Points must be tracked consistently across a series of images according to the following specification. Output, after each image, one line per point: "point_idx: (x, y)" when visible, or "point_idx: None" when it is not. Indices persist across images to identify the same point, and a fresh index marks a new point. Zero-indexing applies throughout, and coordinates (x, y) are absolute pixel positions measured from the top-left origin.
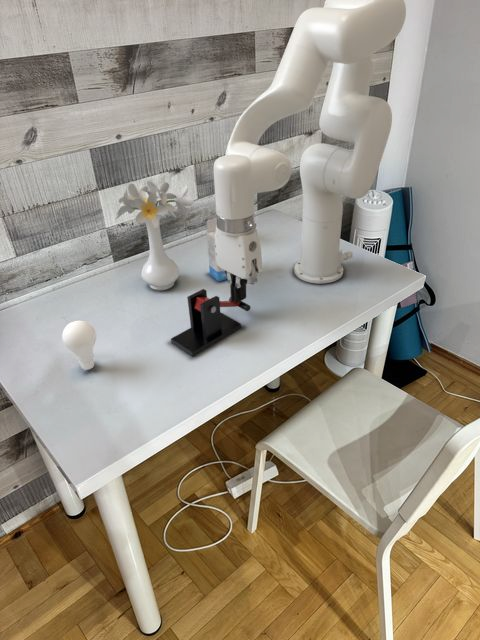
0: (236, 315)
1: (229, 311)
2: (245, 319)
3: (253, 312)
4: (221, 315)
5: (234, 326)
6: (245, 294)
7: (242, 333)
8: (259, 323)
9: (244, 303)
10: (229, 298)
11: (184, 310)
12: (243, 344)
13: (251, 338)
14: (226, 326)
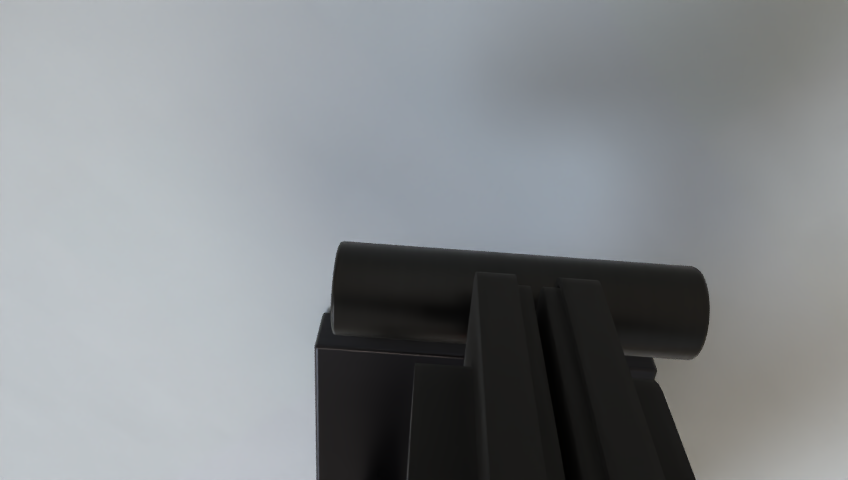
0: (450, 204)
1: (330, 194)
2: (586, 202)
3: (581, 32)
4: (382, 378)
5: None
6: (665, 413)
7: (700, 378)
8: (776, 166)
9: (625, 334)
10: (334, 332)
11: (4, 420)
12: (793, 468)
13: (820, 385)
14: None
